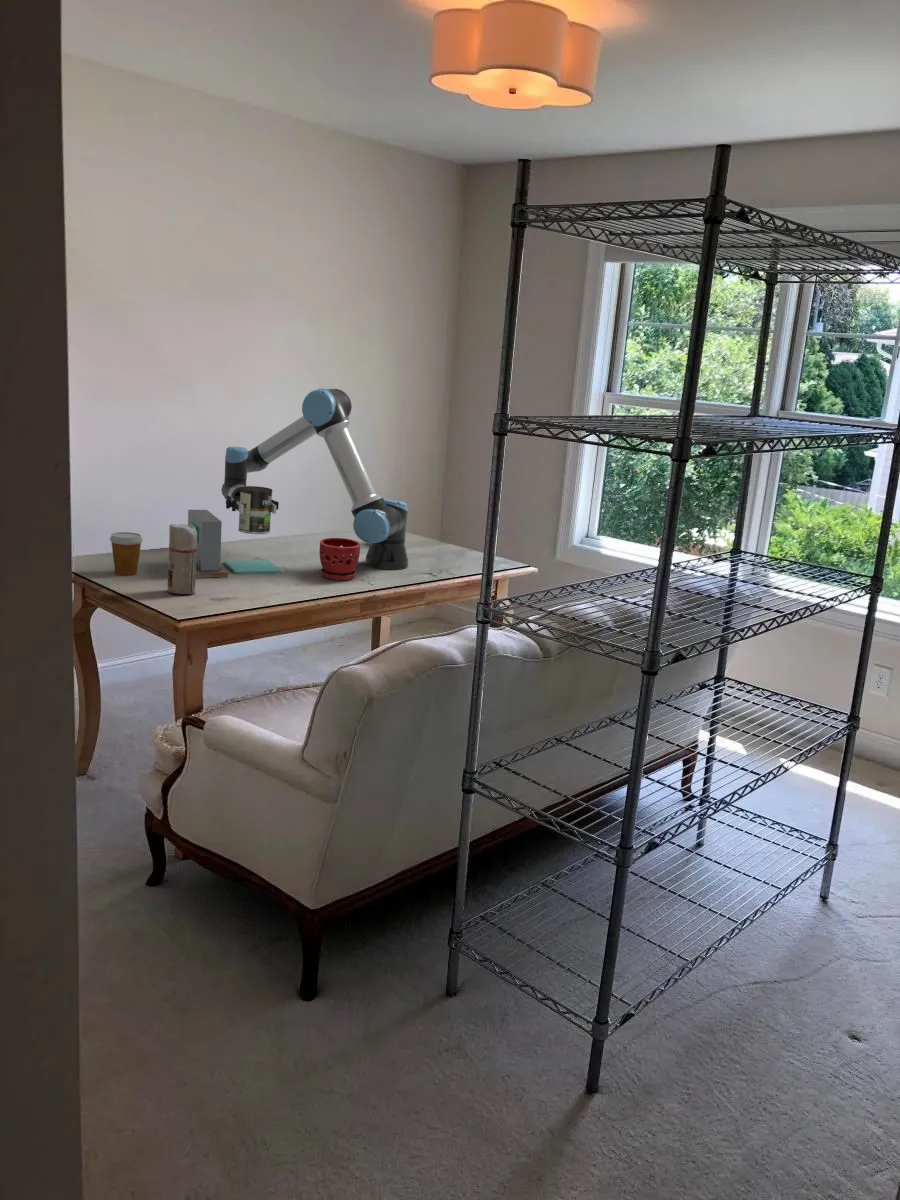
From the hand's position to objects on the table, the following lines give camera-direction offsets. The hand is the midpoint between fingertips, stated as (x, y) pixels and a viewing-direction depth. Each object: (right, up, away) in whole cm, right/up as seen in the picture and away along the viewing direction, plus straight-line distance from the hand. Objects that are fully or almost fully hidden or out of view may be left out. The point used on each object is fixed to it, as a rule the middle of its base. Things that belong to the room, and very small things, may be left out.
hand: (258, 509), depth 317 cm
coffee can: (-3, -7, +6) cm, 9 cm away
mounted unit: (-18, -19, +1) cm, 26 cm away
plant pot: (+25, -22, +7) cm, 34 cm away
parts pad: (-4, -19, +8) cm, 21 cm away
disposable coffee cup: (-38, -21, -13) cm, 46 cm away
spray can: (-17, -27, -29) cm, 43 cm away
